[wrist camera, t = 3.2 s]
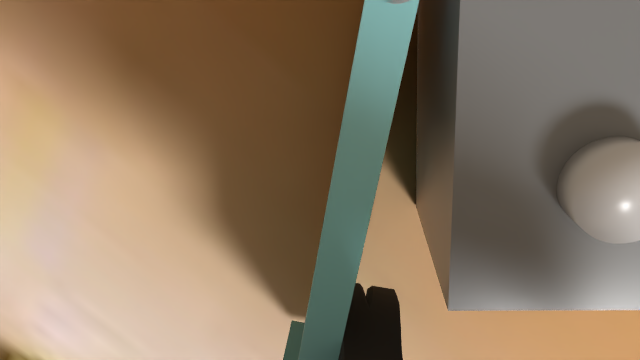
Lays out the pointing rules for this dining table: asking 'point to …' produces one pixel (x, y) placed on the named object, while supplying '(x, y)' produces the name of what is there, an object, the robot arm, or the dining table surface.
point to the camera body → (530, 152)
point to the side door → (354, 175)
